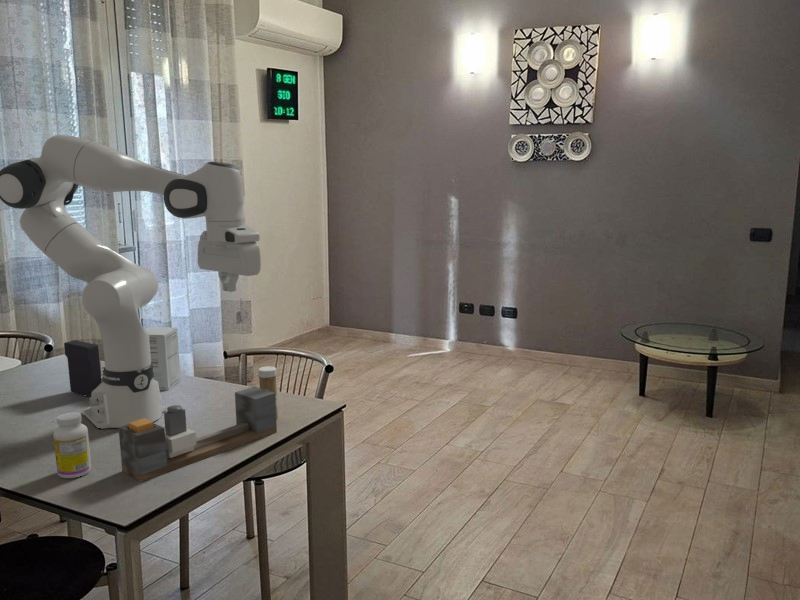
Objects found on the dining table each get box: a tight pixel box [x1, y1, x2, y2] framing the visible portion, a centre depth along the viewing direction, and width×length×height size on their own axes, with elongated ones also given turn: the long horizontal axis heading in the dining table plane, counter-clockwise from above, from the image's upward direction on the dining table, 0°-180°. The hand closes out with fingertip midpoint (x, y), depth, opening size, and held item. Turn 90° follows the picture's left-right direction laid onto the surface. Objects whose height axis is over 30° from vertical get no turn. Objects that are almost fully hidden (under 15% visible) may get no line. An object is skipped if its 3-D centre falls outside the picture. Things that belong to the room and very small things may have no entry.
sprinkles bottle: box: [257, 365, 279, 420], centre depth 182 cm, size 5×5×13 cm
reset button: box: [129, 418, 155, 433], centre depth 150 cm, size 4×4×5 cm
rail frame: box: [118, 386, 278, 482], centre depth 162 cm, size 8×36×10 cm, turn 139°
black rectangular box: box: [63, 339, 103, 398], centre depth 202 cm, size 11×4×15 cm, turn 58°
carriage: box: [163, 405, 197, 458], centre depth 156 cm, size 6×6×10 cm
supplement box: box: [144, 326, 182, 391], centre depth 210 cm, size 10×9×17 cm
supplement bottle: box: [52, 411, 92, 479], centre depth 150 cm, size 7×7×13 cm
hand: (229, 291), depth 168 cm, fingers closed
